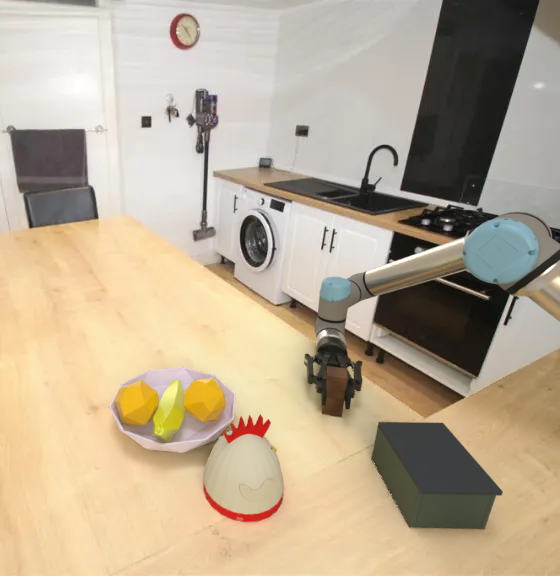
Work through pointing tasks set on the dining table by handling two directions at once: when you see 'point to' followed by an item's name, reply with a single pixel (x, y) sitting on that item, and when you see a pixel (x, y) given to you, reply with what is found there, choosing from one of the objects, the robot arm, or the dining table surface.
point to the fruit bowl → (173, 409)
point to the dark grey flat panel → (437, 459)
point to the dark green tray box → (428, 496)
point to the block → (335, 391)
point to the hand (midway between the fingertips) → (336, 401)
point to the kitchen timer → (244, 473)
